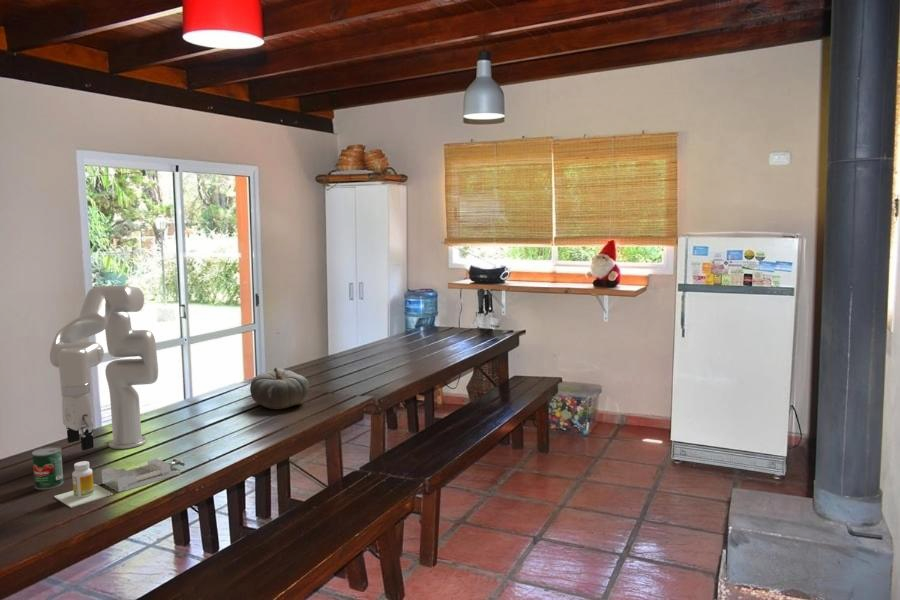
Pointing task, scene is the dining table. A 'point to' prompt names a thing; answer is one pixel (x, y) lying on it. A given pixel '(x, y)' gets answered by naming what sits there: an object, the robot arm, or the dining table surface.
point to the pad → (73, 501)
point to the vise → (138, 475)
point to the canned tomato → (47, 468)
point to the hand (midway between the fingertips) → (80, 445)
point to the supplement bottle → (82, 480)
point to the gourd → (279, 389)
